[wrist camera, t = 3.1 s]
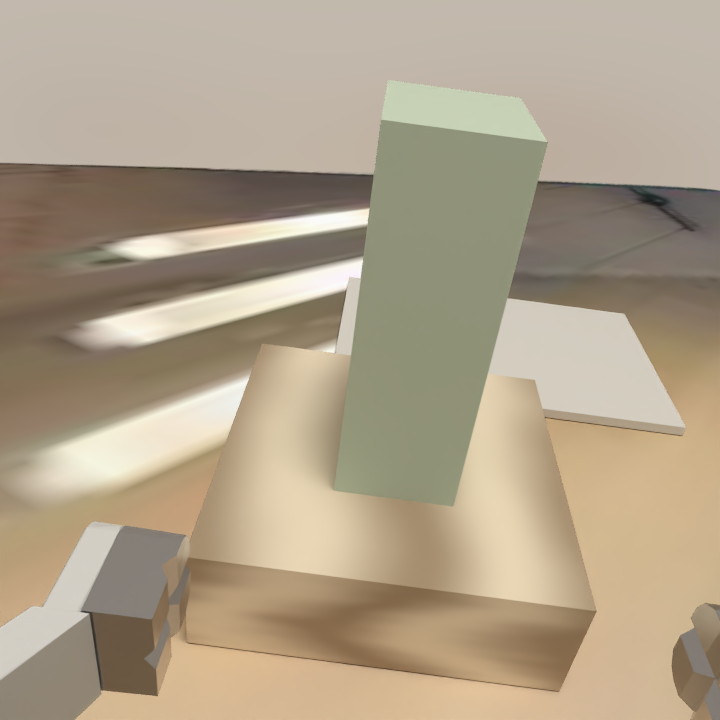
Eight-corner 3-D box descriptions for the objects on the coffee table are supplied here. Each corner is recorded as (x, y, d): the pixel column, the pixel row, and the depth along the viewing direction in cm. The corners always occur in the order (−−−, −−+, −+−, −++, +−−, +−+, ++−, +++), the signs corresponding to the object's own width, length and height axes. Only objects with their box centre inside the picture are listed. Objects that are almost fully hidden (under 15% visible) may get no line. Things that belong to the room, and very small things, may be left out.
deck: (187, 642, 22) (184, 556, 20) (258, 416, 32) (261, 343, 30) (559, 691, 22) (596, 611, 20) (513, 450, 32) (534, 379, 30)
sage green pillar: (333, 490, 23) (381, 119, 16) (346, 402, 27) (388, 79, 20) (453, 506, 23) (548, 142, 16) (447, 415, 27) (520, 98, 21)
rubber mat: (329, 388, 35) (330, 380, 34) (348, 284, 45) (349, 277, 44) (682, 435, 35) (686, 427, 34) (621, 320, 45) (624, 314, 45)
